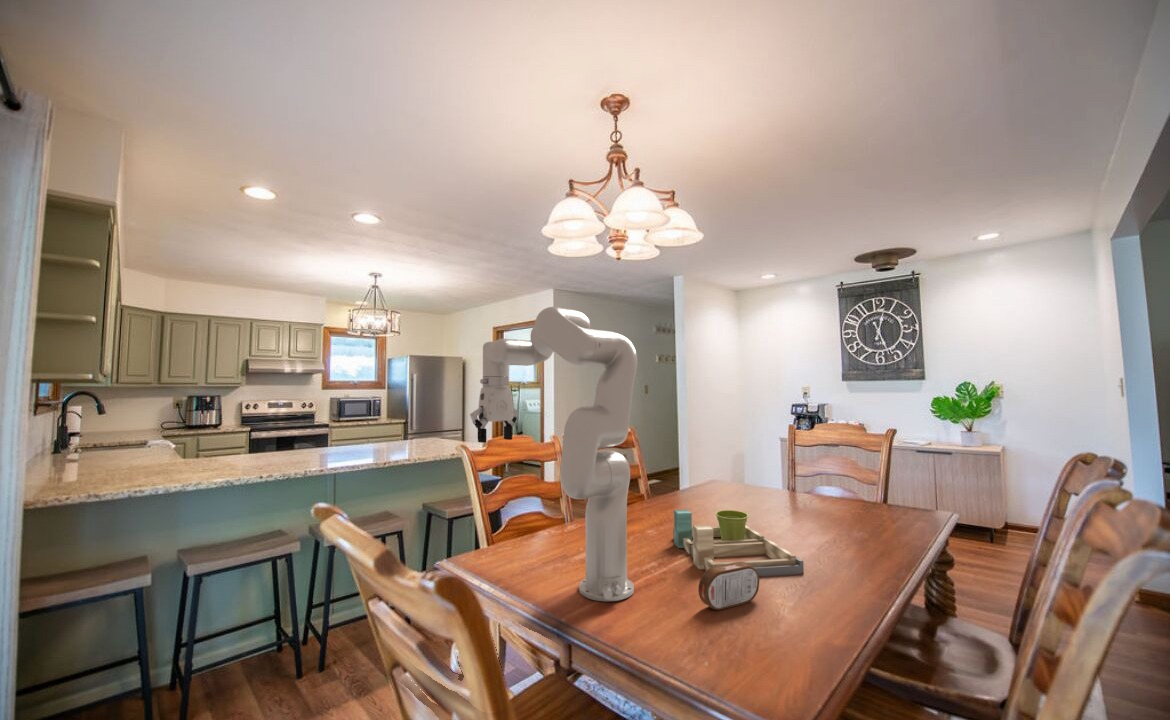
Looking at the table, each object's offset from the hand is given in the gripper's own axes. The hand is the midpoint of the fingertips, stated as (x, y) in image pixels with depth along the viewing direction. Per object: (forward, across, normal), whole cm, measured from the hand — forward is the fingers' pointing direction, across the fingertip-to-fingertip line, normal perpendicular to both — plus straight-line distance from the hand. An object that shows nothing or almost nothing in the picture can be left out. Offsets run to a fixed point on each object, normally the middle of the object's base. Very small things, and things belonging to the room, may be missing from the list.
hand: (495, 440), depth 142 cm
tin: (+32, +9, -68) cm, 76 cm away
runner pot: (+31, +44, -49) cm, 72 cm away
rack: (+31, +38, -55) cm, 74 cm away
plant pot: (+31, +47, -52) cm, 77 cm away
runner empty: (+31, +33, -60) cm, 76 cm away
